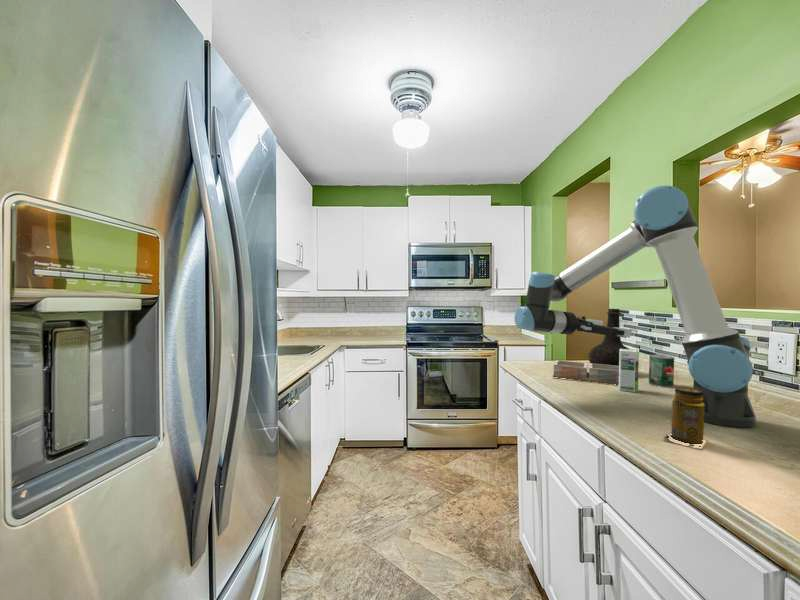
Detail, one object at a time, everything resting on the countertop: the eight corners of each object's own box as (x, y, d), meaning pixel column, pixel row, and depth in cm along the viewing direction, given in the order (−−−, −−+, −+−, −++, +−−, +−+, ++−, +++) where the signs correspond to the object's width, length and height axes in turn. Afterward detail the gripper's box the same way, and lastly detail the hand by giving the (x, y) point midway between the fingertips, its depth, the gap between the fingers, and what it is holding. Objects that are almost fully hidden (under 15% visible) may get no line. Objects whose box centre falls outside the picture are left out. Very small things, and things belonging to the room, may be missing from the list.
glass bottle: (583, 372, 166) (585, 308, 166) (594, 367, 180) (595, 307, 179) (630, 379, 155) (633, 310, 154) (638, 372, 169) (640, 309, 168)
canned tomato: (674, 388, 141) (675, 358, 140) (648, 385, 145) (649, 356, 144) (672, 384, 147) (673, 355, 147) (648, 381, 151) (649, 353, 151)
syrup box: (618, 390, 136) (620, 349, 135) (618, 387, 141) (619, 347, 141) (637, 393, 133) (639, 351, 133) (636, 389, 138) (637, 349, 138)
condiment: (708, 441, 90) (710, 390, 90) (701, 450, 84) (703, 396, 84) (670, 432, 95) (672, 384, 95) (662, 441, 89) (664, 389, 89)
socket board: (624, 386, 143) (625, 372, 143) (552, 378, 154) (553, 365, 154) (622, 378, 156) (622, 366, 156) (555, 371, 167) (556, 360, 167)
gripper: (538, 325, 141) (589, 331, 145) (582, 342, 117) (641, 349, 121) (542, 305, 140) (593, 311, 145) (586, 318, 116) (646, 325, 120)
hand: (615, 328), depth 133 cm, fingers open, 13 cm apart
